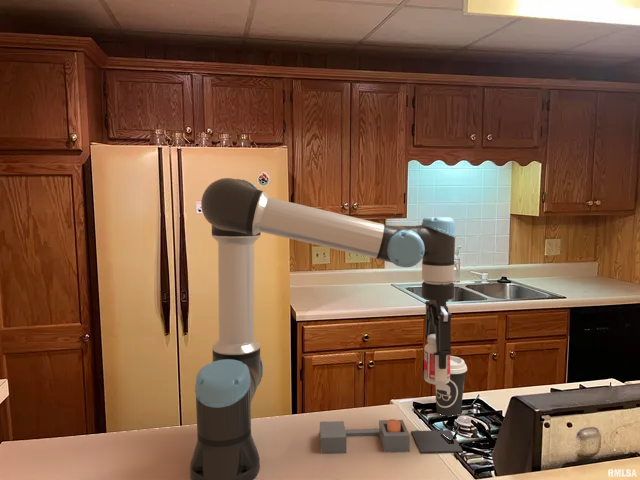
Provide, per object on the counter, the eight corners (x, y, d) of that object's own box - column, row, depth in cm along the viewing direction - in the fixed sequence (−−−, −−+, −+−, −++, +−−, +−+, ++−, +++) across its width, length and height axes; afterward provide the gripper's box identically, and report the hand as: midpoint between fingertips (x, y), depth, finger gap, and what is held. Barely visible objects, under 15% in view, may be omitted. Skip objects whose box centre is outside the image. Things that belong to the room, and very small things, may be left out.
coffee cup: (470, 420, 129) (471, 366, 128) (435, 420, 130) (436, 366, 128) (461, 405, 139) (462, 354, 138) (428, 404, 139) (428, 354, 138)
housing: (321, 453, 113) (321, 437, 113) (319, 433, 123) (319, 418, 123) (409, 451, 114) (409, 435, 113) (400, 431, 124) (401, 416, 123)
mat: (420, 453, 113) (420, 451, 113) (411, 432, 123) (411, 430, 123) (462, 452, 113) (462, 450, 113) (450, 431, 123) (450, 430, 123)
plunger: (388, 445, 116) (388, 425, 116) (386, 438, 119) (386, 419, 119) (401, 445, 116) (401, 425, 116) (398, 438, 119) (399, 419, 119)
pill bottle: (455, 382, 116) (456, 337, 115) (437, 387, 112) (438, 341, 111) (436, 374, 121) (436, 331, 120) (418, 379, 117) (419, 335, 116)
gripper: (467, 289, 105) (465, 391, 107) (442, 274, 124) (440, 361, 126) (433, 289, 105) (432, 391, 107) (413, 275, 124) (412, 362, 126)
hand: (436, 375), depth 116 cm, fingers closed on pill bottle, 6 cm apart
